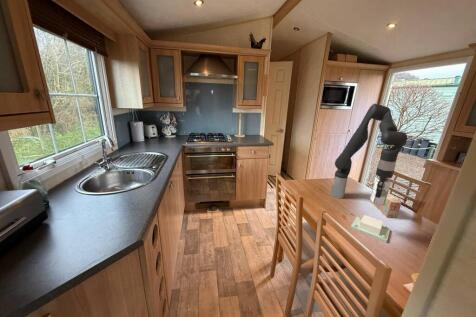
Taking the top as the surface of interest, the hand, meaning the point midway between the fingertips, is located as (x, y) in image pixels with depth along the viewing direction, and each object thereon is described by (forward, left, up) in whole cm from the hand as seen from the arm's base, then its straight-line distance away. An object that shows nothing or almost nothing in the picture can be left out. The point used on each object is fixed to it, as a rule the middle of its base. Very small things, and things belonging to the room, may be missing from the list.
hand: (378, 194), depth 109 cm
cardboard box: (+2, +32, -24) cm, 40 cm away
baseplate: (0, 0, -24) cm, 24 cm away
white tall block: (0, 0, -5) cm, 5 cm away
